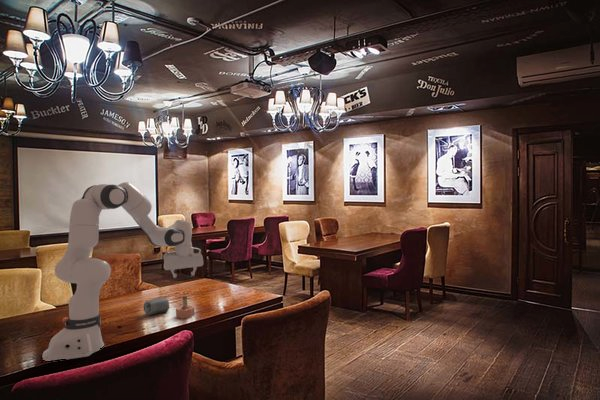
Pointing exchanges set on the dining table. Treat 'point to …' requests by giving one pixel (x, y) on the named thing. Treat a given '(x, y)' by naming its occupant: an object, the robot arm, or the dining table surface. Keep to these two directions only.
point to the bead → (185, 312)
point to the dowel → (184, 302)
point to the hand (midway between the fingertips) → (184, 276)
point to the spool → (156, 306)
